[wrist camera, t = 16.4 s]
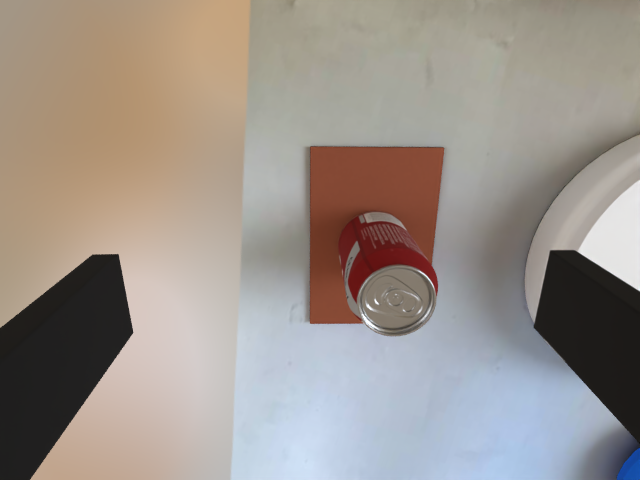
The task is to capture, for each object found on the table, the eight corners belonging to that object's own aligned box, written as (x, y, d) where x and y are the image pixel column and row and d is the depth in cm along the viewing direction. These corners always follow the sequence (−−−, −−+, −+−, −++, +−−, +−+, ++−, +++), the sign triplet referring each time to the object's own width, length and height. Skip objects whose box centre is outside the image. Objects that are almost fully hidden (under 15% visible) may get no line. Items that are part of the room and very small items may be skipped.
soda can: (357, 196, 38) (377, 241, 27) (420, 227, 40) (464, 281, 28) (325, 257, 40) (331, 322, 29) (385, 284, 42) (414, 357, 30)
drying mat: (310, 146, 37) (310, 147, 37) (443, 147, 37) (444, 147, 37) (310, 321, 43) (310, 323, 43) (424, 321, 44) (425, 323, 43)
